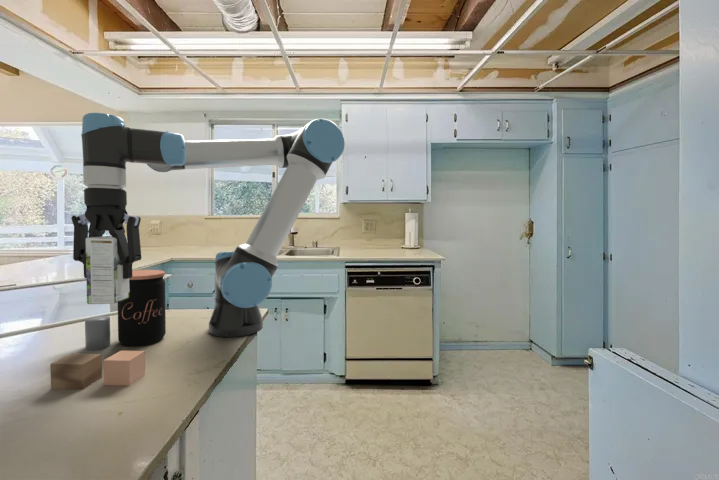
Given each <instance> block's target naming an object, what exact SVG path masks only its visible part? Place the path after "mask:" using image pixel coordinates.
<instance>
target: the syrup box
mask: <svg viewBox="0 0 719 480" xmlns="http://www.w3.org/2000/svg"><path fill="white" fill-rule="evenodd" d="M125 237H126V240H127V236H125ZM127 243H128V241H127ZM119 263H121V261H120V258H119V255H118V252H117V239H116V238H112V235H103V236H101V237H90V238H86V278H85V280H86V304H87V305H115V304H118V302H120V301H123V300H125V299H127V298H129V292H128V293H125V294H122V295H121V294H118V275H117V265H119Z"/></svg>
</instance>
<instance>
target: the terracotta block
mask: <svg viewBox="0 0 719 480" xmlns="http://www.w3.org/2000/svg"><path fill="white" fill-rule="evenodd" d="M145 375H146V351H145V350H119V351H117V352H115V353H114V354H112V355H110V356H109V357H107V358H104V359H103V386H131V385H132V384H134V383H135V382H137V381H138V380H139V379H140V378H142V377H143V376H145ZM136 380H137V381H136ZM133 382H134V383H133Z"/></svg>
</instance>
